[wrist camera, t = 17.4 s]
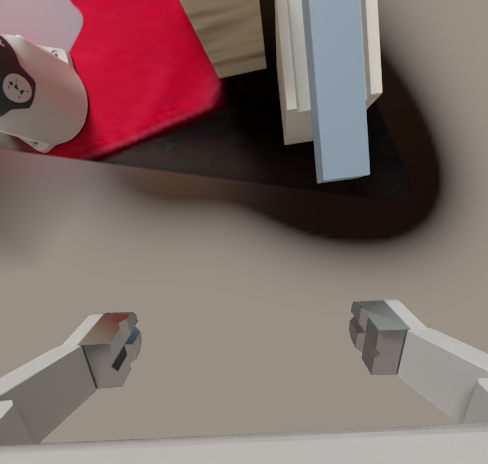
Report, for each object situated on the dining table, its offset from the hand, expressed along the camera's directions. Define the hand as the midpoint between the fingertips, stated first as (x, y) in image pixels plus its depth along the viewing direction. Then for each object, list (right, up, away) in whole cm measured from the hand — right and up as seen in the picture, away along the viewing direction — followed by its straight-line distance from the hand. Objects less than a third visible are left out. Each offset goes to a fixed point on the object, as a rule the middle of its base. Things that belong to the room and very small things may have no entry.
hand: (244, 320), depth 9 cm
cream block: (+10, +24, +30) cm, 40 cm away
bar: (+9, +20, +15) cm, 26 cm away
